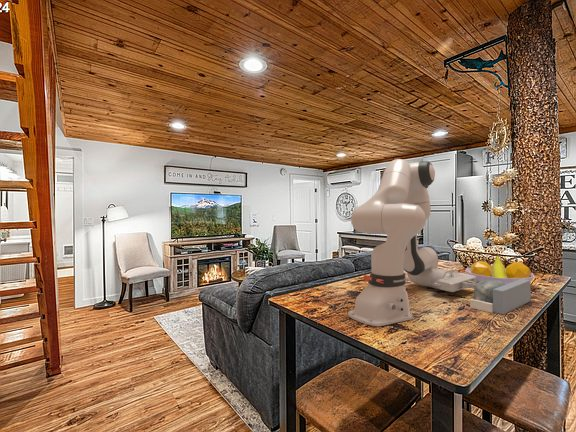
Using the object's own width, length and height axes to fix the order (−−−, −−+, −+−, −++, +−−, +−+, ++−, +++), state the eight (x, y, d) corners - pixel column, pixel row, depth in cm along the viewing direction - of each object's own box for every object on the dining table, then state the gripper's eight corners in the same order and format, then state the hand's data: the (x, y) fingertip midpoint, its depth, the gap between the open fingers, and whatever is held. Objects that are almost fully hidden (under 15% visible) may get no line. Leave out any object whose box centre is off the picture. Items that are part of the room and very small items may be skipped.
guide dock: (501, 315, 98) (501, 291, 98) (470, 307, 106) (469, 285, 106) (531, 300, 112) (531, 279, 112) (502, 294, 121) (501, 275, 120)
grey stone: (486, 286, 121) (493, 268, 116) (509, 302, 113) (518, 283, 108) (463, 298, 116) (470, 280, 111) (486, 316, 109) (494, 297, 104)
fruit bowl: (525, 296, 118) (525, 268, 117) (455, 283, 139) (454, 260, 139) (544, 284, 134) (544, 259, 134) (478, 274, 156) (478, 253, 156)
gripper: (430, 276, 122) (464, 282, 110) (455, 269, 133) (489, 274, 121) (430, 291, 122) (464, 299, 110) (455, 283, 133) (489, 289, 122)
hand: (477, 286), depth 116 cm, fingers closed
